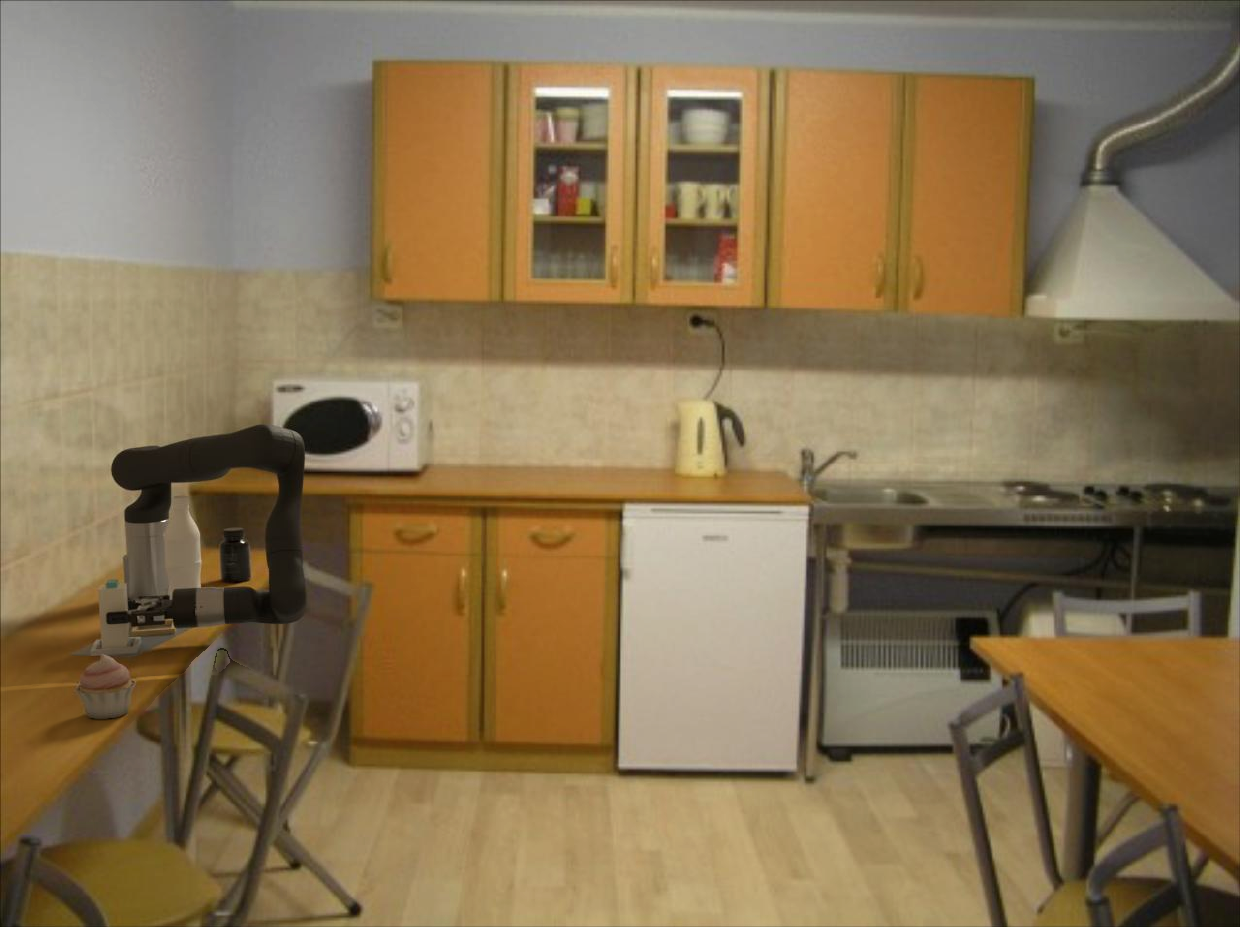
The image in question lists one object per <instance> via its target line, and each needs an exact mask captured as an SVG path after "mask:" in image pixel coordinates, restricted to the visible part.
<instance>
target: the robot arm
mask: <svg viewBox="0 0 1240 927" xmlns="http://www.w3.org/2000/svg"><path fill="white" fill-rule="evenodd" d="M305 465H306V447H305V442H304V439H303V437H302V436H301V434H299V433H298V432H296V431H294V430H292V429H289V428H285V427H280V426H277V425H274V424H269V423H261V424H256V425H255V424H254V425H252V426H249V427H245V428H243V429H240V430H237V431H234V432H230V433H221V434H220V433H219V434H214V435H205V436H198V437H193V438H189V439H184V440H180V441H177V442H173V443H169V444H166V445H163V446H159V445H146V446H139V447H137V446H136V447H130V448H127V449H124V450H121V451H119V453H117V454H116V455H115V457H114V459H113V460H112V463H111V467H110V472H111V476H112V479H113V480H114V482H115V483H116V484H117V485H118V486H119V488H121V489H124V490H126V491H131V492H132V491H133V492H136V491H141V492H140V494H139V496H138V497H137V499H136V500H135V501H134V502H132V503H130V504H129V505H128V506H127V507H125V508H124V511H123V512H124V513H123V515H124V517H123V518H124V529H125V530H124V531H125V547H126V548H125V549H126V550H125V551H126V554H125V555H123V556H122V563H123V564H122V566H123V570H122V571H123V582H124V583H126V585H127V601H128V611H116V612H108V613H107V614H106V622H107V624H125V623H128V624H129V626H131V627H137V626H150V625H163V624H165V620H166V619H173V625H174V627H175V628H176V629H180V628H192V629H194V628H207V627H215V626H221V625H230V624H231V625H234V624H235V625H236V624H245V623H255V624H268V625H269V624H270V625H287V624H291V623H296V622H298V621H299V620H301V619H302V618H303V617H304V615H305V614H306V611H307V609H308V594H307V592H308V591H307V586H306V576H305V572H304V550H303V549H304V548H303V539H302V538H303V537H302V526H301V525H302V518H301V517H302V501H303V490H304V479H305V478H304V477H305V467H306V466H305ZM236 468H237V469H238V468H248V469H255V470H259V471H265V472H269V473H273V474H276V477H277V483H278V495H277V498H276V501H275V504H274V507H273V508H272V510H271V512H270V515H269V517H268V520H267V522H266V525H265V532H264V543H265V544H264V545H265V557H266V565H267V569H268V589H254V588H253V587H251V586H247V585H245V586H244V585H242V586H224V587H220V586H219V587H218V586H204V587H202V586H201V587H200V588H183V589H174V590H173V593H172V600H170V595H168V590H169V581H168V574H167V570H166V567H165V562H166V556H165V540H164V533H165V530H166V528H167V525H168V523H169V521H170V510H171V508H172V484H179V483H180V484H182V483H183V484H185V483H188V484H189V483H200V482H208V481H214V480H218V479H220V478H222V477H224V476H226V475H227V474H228V473H229V472H230V471H231V469H236Z"/></svg>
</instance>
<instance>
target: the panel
mask: <svg viewBox="0 0 1240 927" xmlns="http://www.w3.org/2000/svg"><path fill="white" fill-rule="evenodd" d="M192 629H193V628H180V629H176V628H175V627H174V625H173V619H165V624H163V625H150V626H137V627H131V625H129V635H130V646H129V647H124V648H109V649H102V644H101V638H100V639H95V641H94V642H93V643H91V644H89V645H87V646H85V647H83V648H80V649H79V650H76V651H74V652H72V653H70V654H69V655H70V656H84V657H85V656H86V657H87V656H89V657H100V656H101V654H104V655H107V656H109V657H111V658H123V659H124V658H128V659H135V658H137V657H138V656H140V655H143V654H144V653H146V652H148V651H150V650H152V649H153V648H156V647H158V646H160V645H162V644H164V643H165V642H168V641H169V640H172V639H173V638H175V637H177V636H180V635H182V634H184V633H186V632H187V631H189V630H192Z"/></svg>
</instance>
